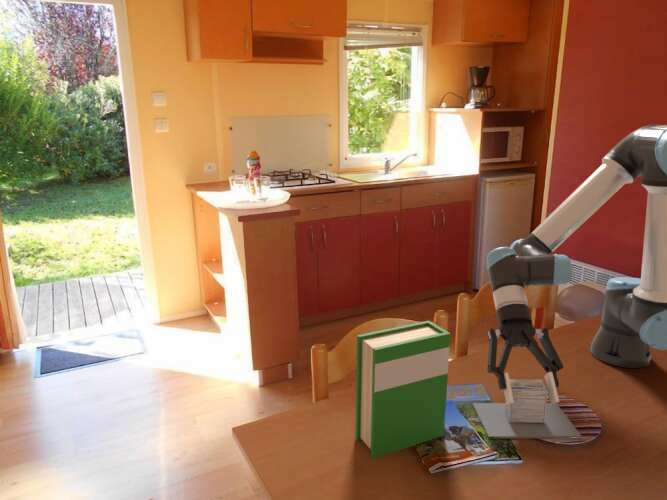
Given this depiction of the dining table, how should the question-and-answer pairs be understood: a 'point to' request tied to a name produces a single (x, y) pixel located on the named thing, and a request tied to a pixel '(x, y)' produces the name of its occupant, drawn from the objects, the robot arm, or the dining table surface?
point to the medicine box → (527, 401)
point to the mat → (501, 427)
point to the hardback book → (401, 386)
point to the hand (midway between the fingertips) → (532, 403)
